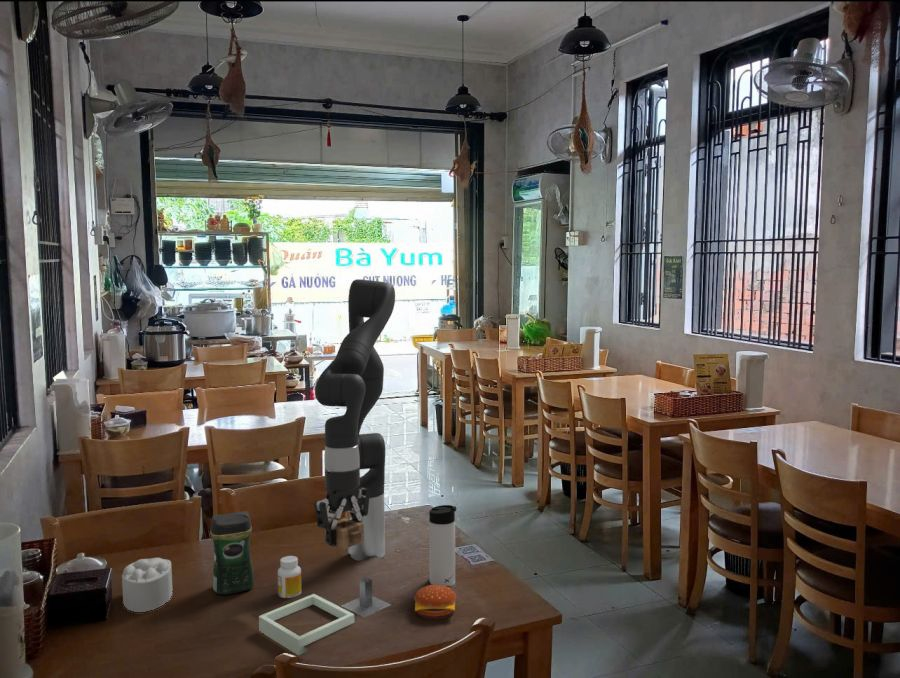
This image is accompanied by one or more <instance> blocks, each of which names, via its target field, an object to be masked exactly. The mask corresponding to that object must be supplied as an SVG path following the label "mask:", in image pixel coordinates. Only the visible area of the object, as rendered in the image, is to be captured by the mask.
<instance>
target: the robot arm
mask: <svg viewBox="0 0 900 678" xmlns="http://www.w3.org/2000/svg"><path fill="white" fill-rule="evenodd" d="M347 300H348V301H347V306H348V308H347V309H348V310H347V311H348V333H347V335H346V336H345V337H344V338H343V340H341V343H340V345H339V348H338V350H337V353H336V356H335V358H334V359H333V360H332V361H331V362H330V363H329V364H328V366H327V367H325V369H324V370H323V371H322V373H320V375H319V377H318V379H317V381H316V382H315V383H316V384H315V387H314V397H315V398H316V401H317V403H319V404H320V405H321V406H324V407H339V408H340V407H341V408H343V407H344V408H346V411H345V412H344V414H342V415H337V416H333V417H329V418H328V419H327V420H326V421H325V424H324V441H325V442H324V445H325V446H324V456H323V457H324V458H323V459H324V460H323V461H324V486H325V489H326V495H325V498H324V499H321V500H315V501H314V503H313V504H314V511H315V519H316V525H317V527H318V528H321V529H323V530H324V529H326V542H327V543H328V544H327V545H328V546H331V547H334V546H336V545H337V541H336V529H335V528H336V524H337V521H338V520H341V517H342V514H344V513H345V512H348V514H349V519H350V520H353V521H356V522H360V523H363V524H364V542H362V543H359V544H356V545H354V546H351V547H348V548H347V551H348V552H347V553H348V554H349V555H350V557H351V559H352V560H355V561H356V562H360V561H364V560H366V559H369V558H371V557H376V556H377V557H378V558H381V559H383V558H384V557H385V555H386V534H385V533H386V531H385V530H386V528H385V526H386V525H385V516H386V515H385V479H386V478H385V476H386V475H385V471H386V468H385V467H386V443H385V439H384V436H383V434H381V433H379V432H371V433H363V434H361V433H360V432H361V429H362V426H363V423H364V422H365V419H366V417H367V416H368V414H369V413H370V411H371V410H372V409H374V408H373V407H375V405H376V404H377V402H378V401H379V399H380V397H381V395H382V394H383V390H384V376H385V375H384V373H385V369H384V363H383V361H382V359H381V356H380V355H379V353H378V352H377V350H376V348H375V347H374V346H375V344H376V342H377V340H378V339H379V337H380V335H381V334H382V333H383V331H384V329H385V327H386V325H387V324H388V322H389V320H390V318H391V316H392V313H393V312H394V308H395V303H396V290H395V287H394V285H393V284H392V283H390V282H387V281H386V282H385V281H379V280H371V279H370V280H369V279H361V278H360V279H354V280H353V281H352V282H351V284H350V286H349V290H348V299H347ZM365 318H367V320H365ZM361 470H368V471H367V472H366V473H365V474H363V475H361ZM333 512H334V513H333Z"/></svg>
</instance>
